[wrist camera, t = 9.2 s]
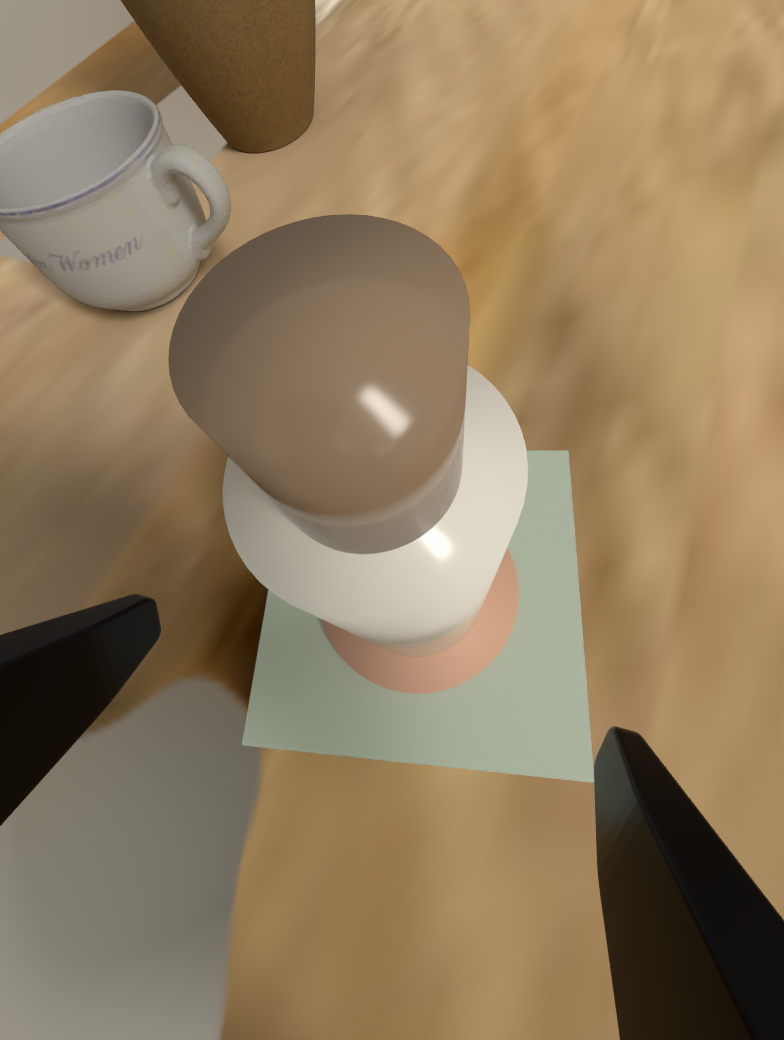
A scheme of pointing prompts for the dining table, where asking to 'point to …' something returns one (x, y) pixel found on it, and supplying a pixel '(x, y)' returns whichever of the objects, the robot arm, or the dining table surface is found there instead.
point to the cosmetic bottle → (354, 427)
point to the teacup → (108, 200)
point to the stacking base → (448, 667)
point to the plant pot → (239, 63)
